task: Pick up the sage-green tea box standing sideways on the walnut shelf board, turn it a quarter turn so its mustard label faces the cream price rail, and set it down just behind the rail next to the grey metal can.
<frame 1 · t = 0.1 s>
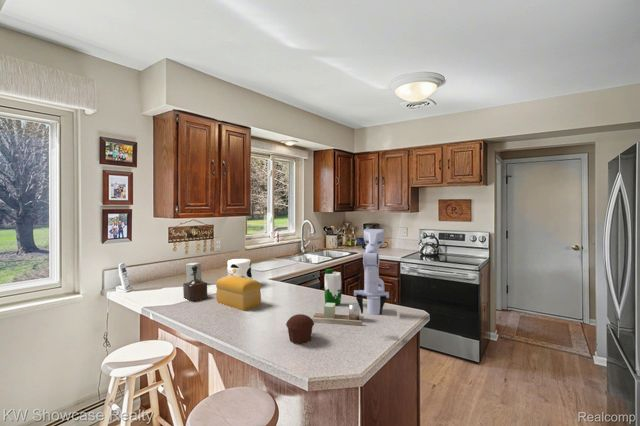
hand: (371, 313, 134), 10 cm above the worktop, tool pointing down, fingers open, 7 cm apart
shelf board: (337, 321, 152), on the worktop
milk carton: (333, 305, 176), on the worktop
bread: (238, 304, 180), on the worktop
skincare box: (193, 286, 220), on the worktop
metal can: (354, 319, 152), point 1 cm above the worktop, touching shelf board
milk container: (239, 287, 217), on the worktop
muffin: (300, 340, 132), on the worktop
pepper mill: (194, 297, 193), on the worktop
tea box: (329, 316, 155), point 1 cm above the worktop, touching shelf board
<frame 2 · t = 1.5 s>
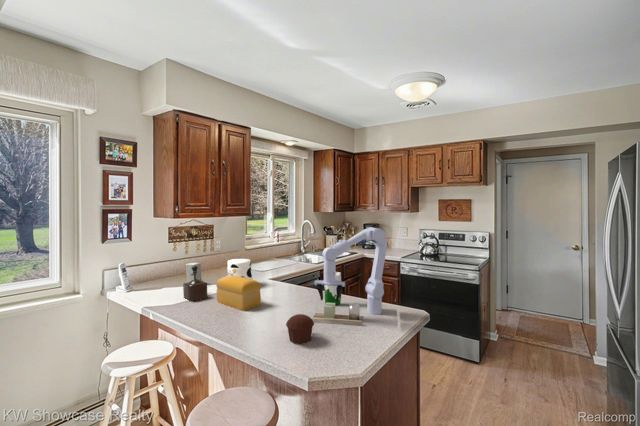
hand: (329, 300, 155), 9 cm above the worktop, tool pointing down, fingers open, 7 cm apart
nothing on the worktop moved.
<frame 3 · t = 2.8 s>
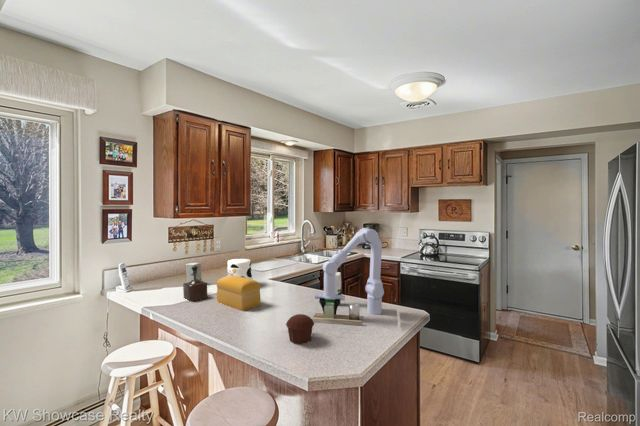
hand: (329, 314, 155), 3 cm above the worktop, tool pointing down, fingers open, 4 cm apart
tea box: (329, 316, 155), point 1 cm above the worktop, touching gripper, shelf board
everything else where it was.
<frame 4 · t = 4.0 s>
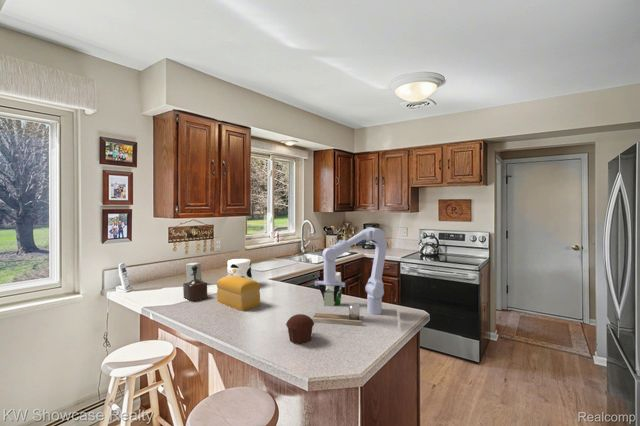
hand: (329, 300, 155), 9 cm above the worktop, tool pointing down, fingers closed on tea box, 4 cm apart
tea box: (329, 304, 155), point 8 cm above the worktop, touching gripper
everything else where it was.
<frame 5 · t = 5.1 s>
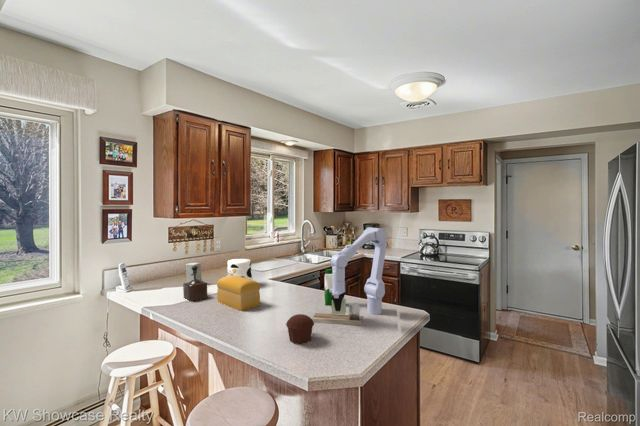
hand: (338, 309, 150), 7 cm above the worktop, tool pointing down, fingers closed on tea box, 4 cm apart
tea box: (338, 312, 150), point 5 cm above the worktop, touching gripper
everything else where it was.
when the fingers open (4 cm above the worktop, at t = 6.5 s): tea box stays where it is, resting on shelf board.
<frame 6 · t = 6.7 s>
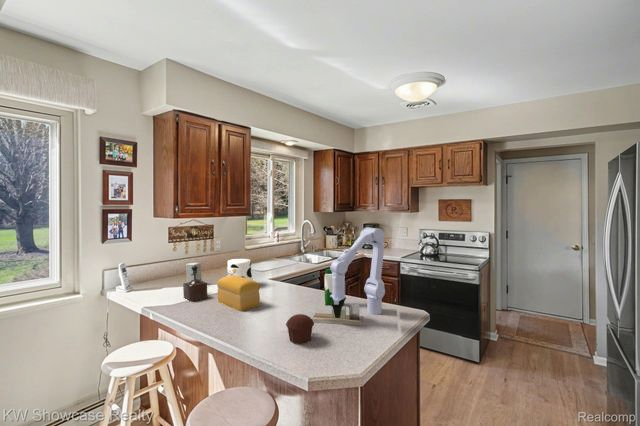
hand: (338, 315, 150), 4 cm above the worktop, tool pointing down, fingers open, 6 cm apart
tea box: (338, 320, 150), point 1 cm above the worktop, touching shelf board
everything else where it was.
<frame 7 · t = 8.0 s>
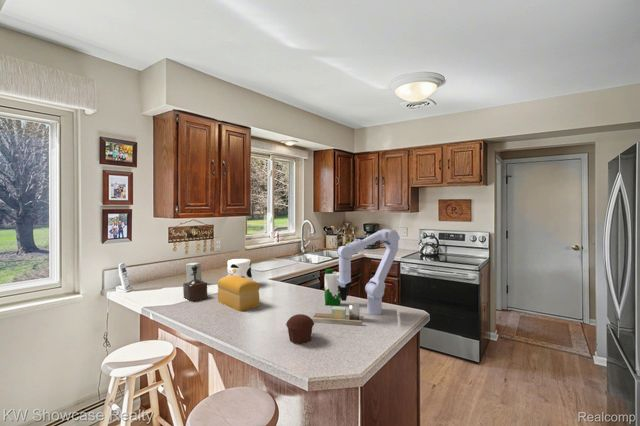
hand: (344, 298, 156), 10 cm above the worktop, tool pointing down, fingers open, 7 cm apart
nothing on the worktop moved.
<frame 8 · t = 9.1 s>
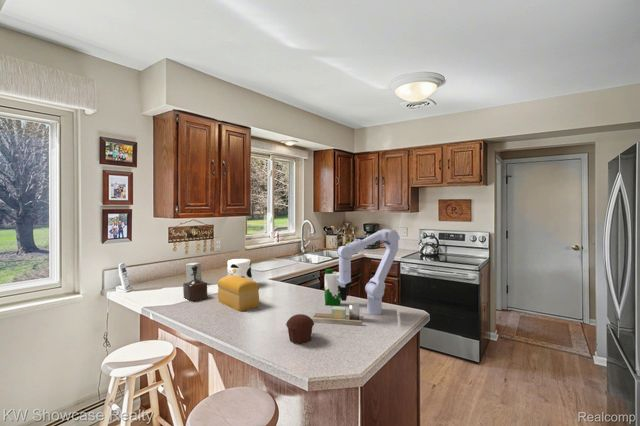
hand: (344, 298, 156), 10 cm above the worktop, tool pointing down, fingers open, 7 cm apart
at the end: tea box 0.2 cm from the target spot on the shelf board, point 1.2 cm above the shelf board's base; tea box tilted 0°; tea box moved 6.4 cm from its start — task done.
